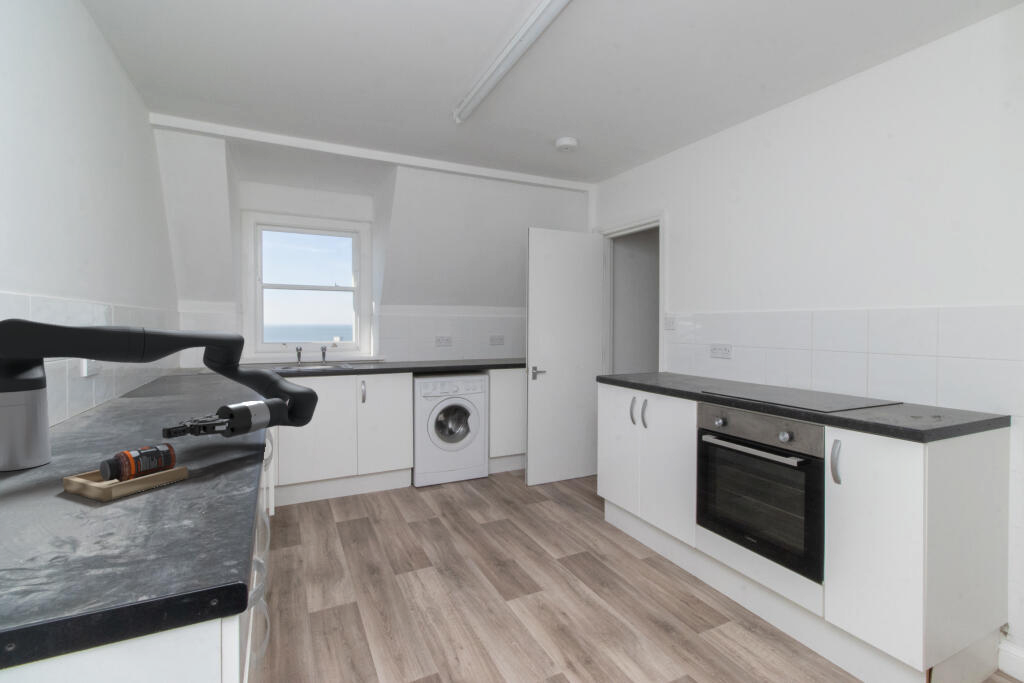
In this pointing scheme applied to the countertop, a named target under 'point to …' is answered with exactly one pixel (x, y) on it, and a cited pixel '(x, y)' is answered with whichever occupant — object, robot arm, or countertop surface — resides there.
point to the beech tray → (119, 484)
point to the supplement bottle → (138, 462)
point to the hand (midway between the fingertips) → (164, 433)
